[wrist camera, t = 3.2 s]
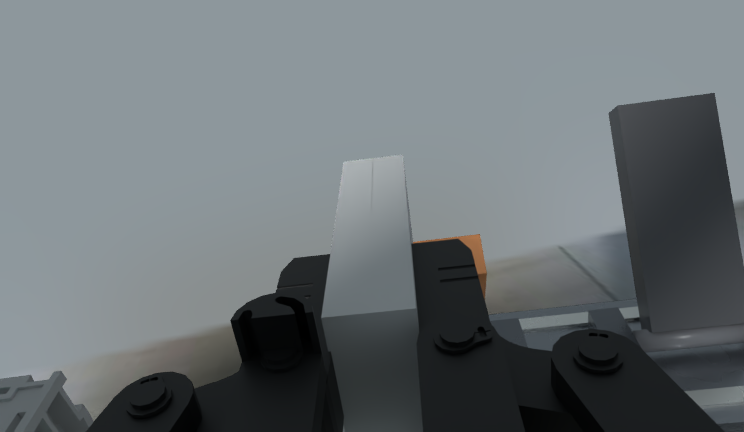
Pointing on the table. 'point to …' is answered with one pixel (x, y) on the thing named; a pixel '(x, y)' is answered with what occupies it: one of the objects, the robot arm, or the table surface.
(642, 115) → the lever on
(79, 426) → the circuit breaker
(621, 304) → the grey slotted holder
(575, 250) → the table surface
